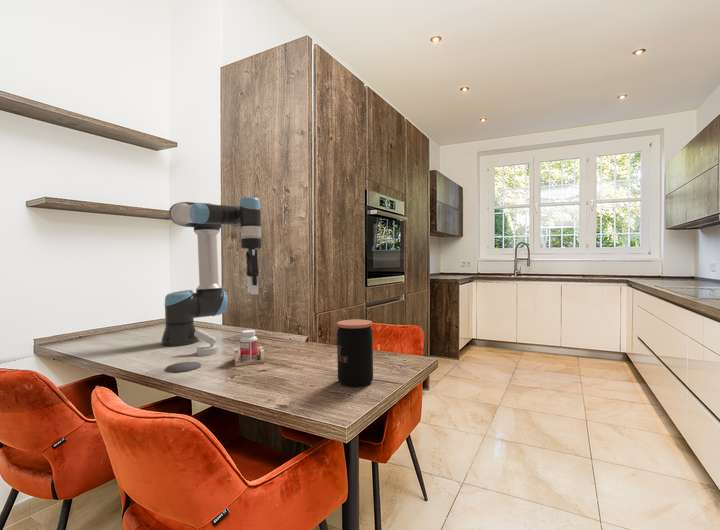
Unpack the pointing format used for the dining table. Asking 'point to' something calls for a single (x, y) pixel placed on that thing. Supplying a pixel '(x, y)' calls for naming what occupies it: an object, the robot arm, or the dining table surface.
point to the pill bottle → (248, 346)
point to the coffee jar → (355, 352)
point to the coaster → (183, 367)
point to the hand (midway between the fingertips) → (252, 293)
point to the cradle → (237, 363)
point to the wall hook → (207, 349)
